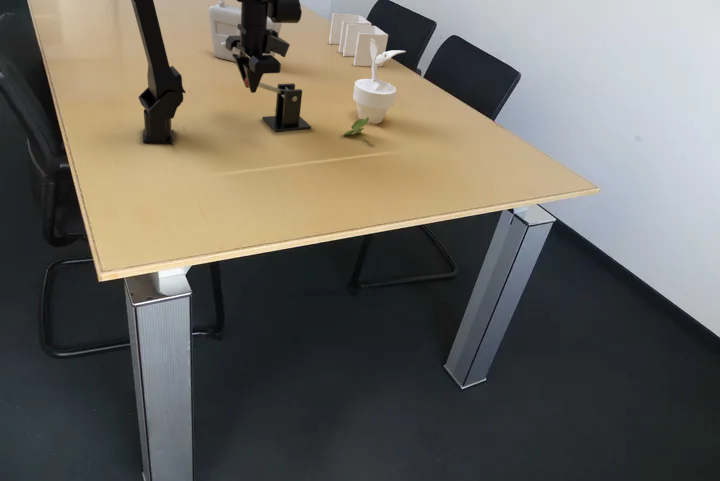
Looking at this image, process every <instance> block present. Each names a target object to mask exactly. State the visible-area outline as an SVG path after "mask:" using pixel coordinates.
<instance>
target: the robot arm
mask: <svg viewBox="0 0 720 481" xmlns="http://www.w3.org/2000/svg"><path fill="white" fill-rule="evenodd" d="M236 1H237V2H238V3H241V6H240V8H241V24H238V25H237V28H238V29H239V30H240V36H229V37H228V38H227V39H226V48H227V49H228V50H229V51H232V50H233V47H235V49H236V54H233V55H232V56H233V58H234V60H235V62H234V63H235V64H236V67H237V69H238V72H239V74H240V76H241V79H242V82H243V84H244V86H245V89H249V91H250V93H251V94H254V93H256V92H257V89H258V88H259V87H258V85H259V83H260V82H261V80H262V78H263V75H265V74H267V75H268V74H280V73H281V69H282V63H281V61H279V59H277V58H276V57H275V56H274V57H273V56H272V55H263V53H265V54H270V53H271V51H272V52H274V53H275V54H277V55H280V57H282V58H286V56H287V53H288V50H289V48H290V46H291V45H290V43H289V42H288V41H286V40H284V39H283V38H281V37H280V36H279V37H278V32H276V31H275V30H272V29H267V16H268V17H269V18H270V19H271V21H272V22H273V23H281V24H298V23H299V22H300V21H301V18H302V12H303V11H302V6H301V2H300V0H236ZM130 2H131V6H132V9H133V13H134V16H135V21H136V23H137V28H138V31H139V35H140V39H141V42H142V46H143V50H144V53H145V57H146V61H147V74H146V76H147V87H146V89H144V91H143V92H142V93H140V95H139V96H138V100H139V103H140V104H141V106H142V107H143V109H144V110H143V123H144V128H143V130H142V132H143V133H142V143H144V144H145V143H146V144H173V143H174V130H173V129H172V120H173V119H174V118H175V115H176V112H177V110H178V108H179V107H180V106H181V104H182V103H183V102H184V94H186V93H187V92H186V90H185V89H184V86H183V77H182V74H181V73H180V72H179V71H178V70H177V69H176V68H175V67H174V65H171V66H170V63H169V59H168V55H167V50H166V46H165V43H164V42H165V41H164V38H163V33H162V30H161V26H160V22H159V18H158V14H157V10H156V6H155V1H154V0H130ZM246 77H247V81H248V84H249V88H248V87H247V86H246V85H245V78H246Z"/></svg>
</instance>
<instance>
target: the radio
mask: <svg viewBox="0 0 720 481" xmlns="http://www.w3.org/2000/svg"><path fill="white" fill-rule="evenodd" d="M208 19H209V27H210V36H211V44H212V53H213V56H214V57H216V58H217V59H221V60H226V61H229V62H233V63H236V62H235V60H234V58H233V56H232V55H233V54H236V49H235V47H233V50H232V51H229V50H228V49H227V48H226V39H227V38H228V37H229V36H240V30H239V29H238V28H237V25H238V24H241V7H238V6H234V5H230V4H226V2H225V1H224V0H219V1H218V3H217V4H214V5H211V6H209V9H208ZM267 29H272V30H275V31H276V32H278V37H279V38H280V32H281V29H282V23H273V22H272V21H271V19H270V18H269V17H268V16H267ZM263 55H272V56H273V57H274V58H275V55H276V53H274V52H272V51H271V53H270V54H265V53H263Z"/></svg>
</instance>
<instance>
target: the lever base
mask: <svg viewBox="0 0 720 481" xmlns="http://www.w3.org/2000/svg"><path fill="white" fill-rule="evenodd" d="M284 87H287V88H290V89H293V90H285V93H284V98H283V97H282V96H281V95H282V94H279V93H276V102H275V114H274V115H270V116H269V115H267V116H262V118H261V120H262V121H263V122H264V123H265V124H266V125H267V126H268V127H269V128H270V129H271V130H272V131H273V132H274V133H285V132H295V131H297V132H298V131H305V130H307V131H308V130H311V129H312V126H311V125H310V124H309V123H308V122H307V121H306V120H304V119H303V117H302V116H301V107H302V99H303V90H302V89H300V88H298V89H297V88H296V84H295V83H293V82H292V83H278V84H277V88H280V89H283V90H284Z"/></svg>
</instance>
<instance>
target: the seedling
mask: <svg viewBox="0 0 720 481" xmlns="http://www.w3.org/2000/svg"><path fill="white" fill-rule="evenodd" d="M368 120H369V117H367V118H366V119H365V120H364V119H359V118H358V119H357V120H355V121H354V123H353V124H352V125H351V130H348V131H346V132H344V133H343V136H349V135H357V134H358V133H360V134H361V135H362V137H363V139H364V141H365V142H367V143H369V144H370V142H369V141H368V140H367V139H366V138H365V135H364V134H363V130H364V129H365V126H366V125H367V124H368V123H367V122H368Z"/></svg>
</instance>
